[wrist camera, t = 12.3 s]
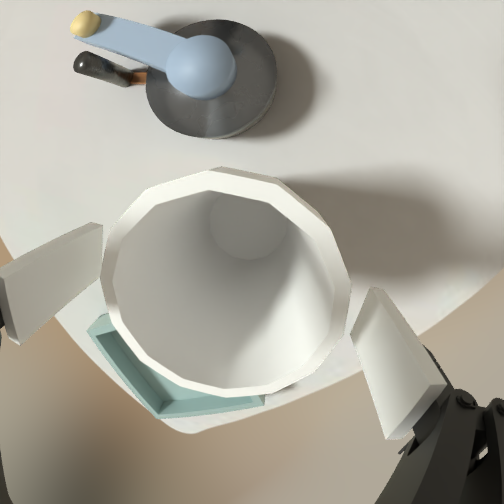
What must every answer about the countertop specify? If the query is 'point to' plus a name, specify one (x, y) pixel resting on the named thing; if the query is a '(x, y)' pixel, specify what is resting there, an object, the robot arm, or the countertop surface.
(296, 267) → the foam cup
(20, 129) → the countertop surface
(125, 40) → the crank
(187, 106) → the crank base
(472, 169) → the countertop surface
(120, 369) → the tray
